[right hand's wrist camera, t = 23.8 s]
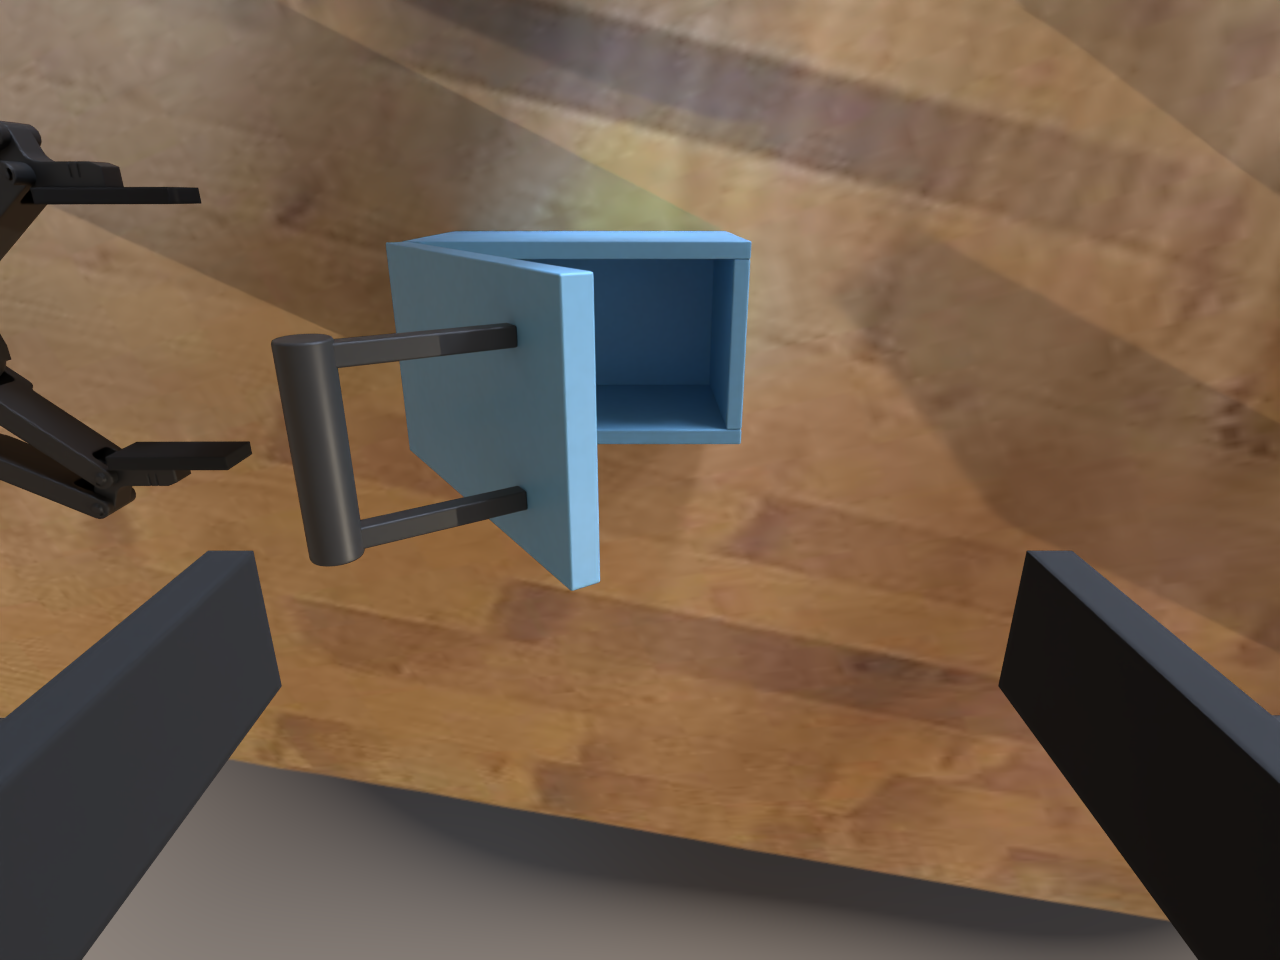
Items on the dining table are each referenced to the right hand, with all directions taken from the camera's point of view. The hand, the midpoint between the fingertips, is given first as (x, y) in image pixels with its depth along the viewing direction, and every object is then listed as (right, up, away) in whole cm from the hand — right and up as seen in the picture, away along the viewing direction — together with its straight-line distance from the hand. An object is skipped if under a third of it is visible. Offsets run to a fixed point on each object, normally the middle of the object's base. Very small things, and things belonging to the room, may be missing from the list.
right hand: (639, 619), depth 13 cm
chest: (-3, +12, +32) cm, 35 cm away
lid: (-6, +6, +16) cm, 18 cm away
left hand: (-22, +10, +26) cm, 36 cm away
